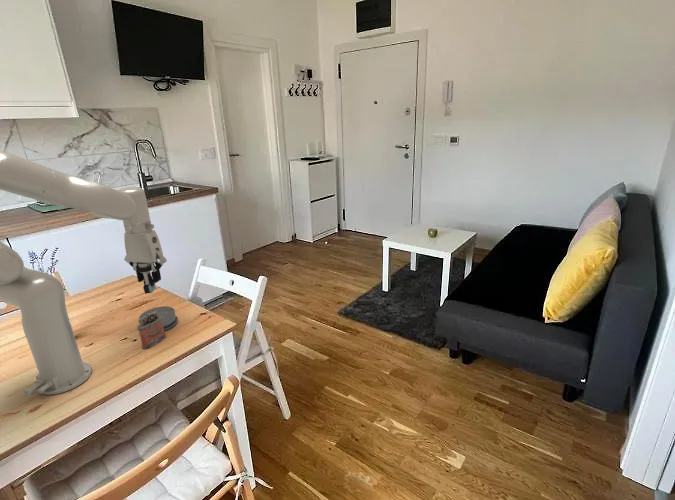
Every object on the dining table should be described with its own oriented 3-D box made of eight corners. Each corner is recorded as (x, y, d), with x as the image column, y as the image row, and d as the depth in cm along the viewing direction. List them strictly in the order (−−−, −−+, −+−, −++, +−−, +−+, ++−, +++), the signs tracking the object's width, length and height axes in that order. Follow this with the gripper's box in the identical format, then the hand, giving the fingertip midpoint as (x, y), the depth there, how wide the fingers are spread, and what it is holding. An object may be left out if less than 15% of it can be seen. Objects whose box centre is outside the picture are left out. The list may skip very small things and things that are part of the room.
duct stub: (164, 335, 124) (162, 324, 123) (131, 332, 126) (129, 322, 125) (185, 316, 135) (183, 306, 134) (154, 314, 137) (152, 304, 136)
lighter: (161, 334, 125) (155, 307, 121) (168, 336, 123) (162, 309, 120) (139, 347, 118) (132, 319, 115) (147, 350, 117) (140, 321, 113)
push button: (146, 286, 129) (139, 258, 125) (162, 284, 130) (156, 256, 126) (139, 294, 123) (132, 266, 119) (157, 293, 123) (150, 264, 120)
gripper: (170, 224, 121) (179, 277, 127) (122, 223, 124) (134, 274, 130) (155, 232, 114) (166, 287, 120) (105, 230, 117) (119, 284, 123)
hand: (149, 280), depth 125 cm, fingers closed on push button, 4 cm apart
